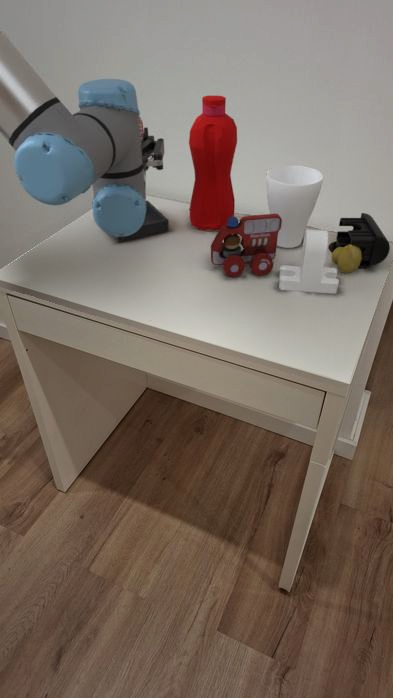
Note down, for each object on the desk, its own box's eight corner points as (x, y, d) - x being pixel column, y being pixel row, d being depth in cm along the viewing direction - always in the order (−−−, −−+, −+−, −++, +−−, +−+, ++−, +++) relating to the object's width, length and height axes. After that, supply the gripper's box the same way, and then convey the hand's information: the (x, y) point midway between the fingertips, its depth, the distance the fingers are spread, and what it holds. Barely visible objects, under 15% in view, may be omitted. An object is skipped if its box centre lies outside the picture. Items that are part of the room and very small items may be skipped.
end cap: (384, 269, 89) (394, 236, 84) (346, 269, 89) (353, 236, 84) (369, 244, 96) (377, 212, 92) (334, 244, 96) (340, 212, 92)
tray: (118, 242, 98) (116, 231, 96) (100, 220, 105) (99, 210, 104) (169, 230, 102) (168, 219, 100) (148, 210, 109) (147, 200, 108)
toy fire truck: (208, 260, 92) (208, 208, 85) (271, 256, 93) (276, 204, 86) (213, 279, 87) (213, 225, 80) (280, 275, 88) (286, 221, 81)
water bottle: (235, 212, 108) (241, 88, 92) (231, 234, 100) (237, 102, 84) (195, 210, 110) (194, 87, 94) (187, 231, 101) (185, 101, 85)
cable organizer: (337, 293, 83) (348, 241, 76) (279, 289, 84) (285, 237, 77) (334, 277, 87) (345, 226, 80) (279, 274, 88) (285, 222, 81)
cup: (312, 255, 93) (324, 187, 84) (258, 251, 94) (264, 183, 86) (312, 231, 101) (323, 166, 92) (262, 227, 102) (268, 163, 94)
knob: (362, 271, 88) (368, 246, 85) (339, 276, 87) (344, 252, 84) (347, 259, 92) (352, 235, 89) (324, 264, 90) (329, 240, 87)
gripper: (65, 201, 81) (79, 156, 98) (184, 196, 82) (177, 152, 99) (56, 155, 76) (73, 117, 93) (183, 150, 77) (175, 113, 94)
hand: (126, 135), depth 96 cm, fingers closed on soda can, 7 cm apart
